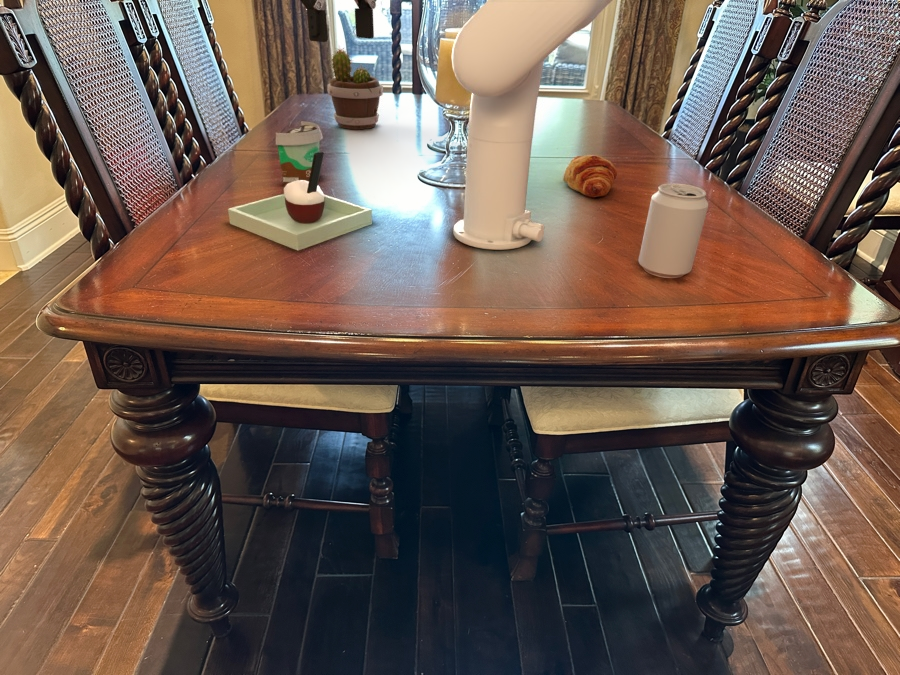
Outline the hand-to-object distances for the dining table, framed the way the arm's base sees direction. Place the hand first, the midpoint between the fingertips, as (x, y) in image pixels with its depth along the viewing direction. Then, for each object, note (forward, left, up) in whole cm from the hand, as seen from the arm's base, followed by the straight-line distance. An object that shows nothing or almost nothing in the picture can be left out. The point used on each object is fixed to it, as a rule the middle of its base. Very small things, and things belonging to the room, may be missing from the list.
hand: (342, 39), depth 91 cm
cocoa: (+1, +9, -27) cm, 28 cm away
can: (-50, -14, -27) cm, 59 cm away
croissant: (-23, -44, -27) cm, 56 cm away
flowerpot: (+50, -51, -27) cm, 76 cm away
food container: (+20, -8, -27) cm, 35 cm away
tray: (+2, +9, -27) cm, 28 cm away
